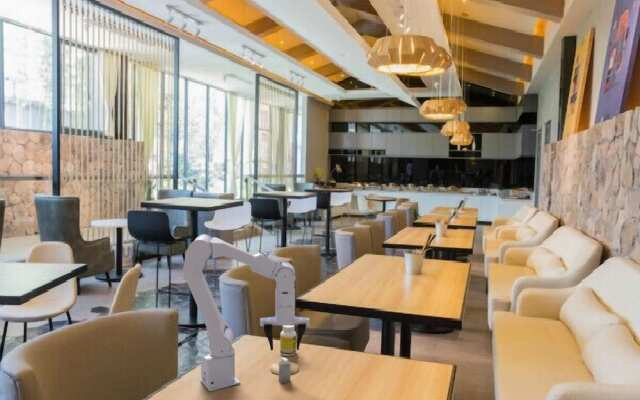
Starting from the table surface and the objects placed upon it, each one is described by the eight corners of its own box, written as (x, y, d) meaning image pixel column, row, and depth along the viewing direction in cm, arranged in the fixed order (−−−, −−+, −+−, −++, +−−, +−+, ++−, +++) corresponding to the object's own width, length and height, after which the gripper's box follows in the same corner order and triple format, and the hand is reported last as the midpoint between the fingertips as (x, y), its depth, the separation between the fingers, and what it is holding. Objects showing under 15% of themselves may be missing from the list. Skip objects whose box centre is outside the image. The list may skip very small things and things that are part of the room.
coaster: (278, 377, 152) (278, 376, 152) (265, 366, 160) (265, 365, 159) (304, 370, 157) (304, 369, 157) (289, 360, 164) (289, 359, 164)
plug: (282, 384, 148) (282, 362, 147) (276, 379, 151) (276, 358, 150) (292, 381, 150) (292, 359, 149) (286, 377, 153) (286, 355, 152)
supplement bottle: (295, 356, 168) (295, 328, 167) (279, 356, 168) (279, 328, 167) (296, 350, 173) (296, 322, 172) (281, 349, 173) (281, 322, 172)
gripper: (309, 300, 152) (308, 343, 154) (261, 300, 151) (261, 343, 153) (310, 307, 145) (309, 352, 147) (259, 307, 144) (259, 353, 146)
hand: (284, 348), depth 149 cm, fingers open, 7 cm apart
